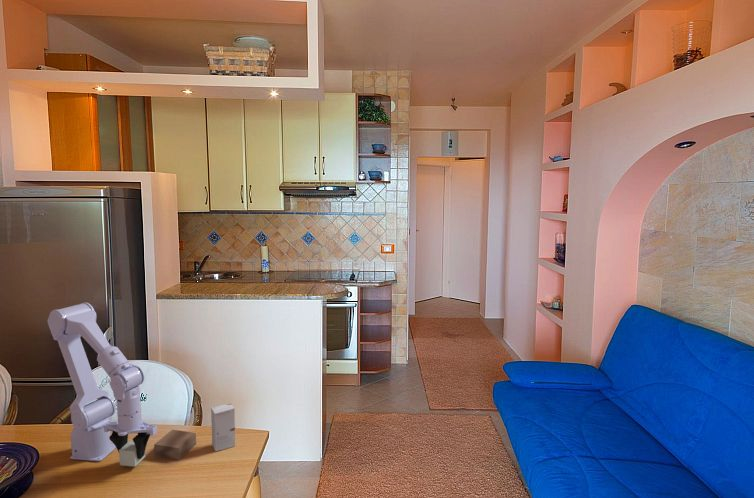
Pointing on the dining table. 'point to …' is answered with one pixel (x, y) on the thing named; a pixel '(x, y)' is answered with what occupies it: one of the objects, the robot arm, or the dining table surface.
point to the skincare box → (223, 426)
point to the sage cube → (129, 455)
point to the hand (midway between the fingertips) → (132, 456)
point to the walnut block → (175, 444)
